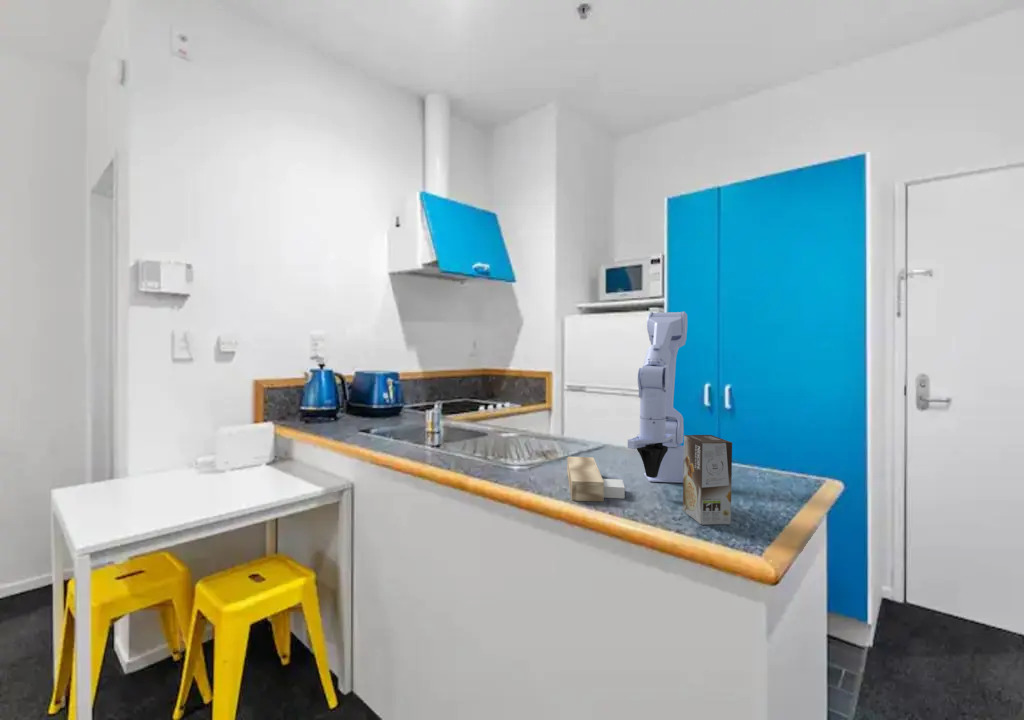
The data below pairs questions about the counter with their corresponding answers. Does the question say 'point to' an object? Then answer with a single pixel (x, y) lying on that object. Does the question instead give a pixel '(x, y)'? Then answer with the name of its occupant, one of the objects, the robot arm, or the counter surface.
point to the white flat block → (614, 488)
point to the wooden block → (584, 479)
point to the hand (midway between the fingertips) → (651, 476)
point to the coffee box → (707, 479)
